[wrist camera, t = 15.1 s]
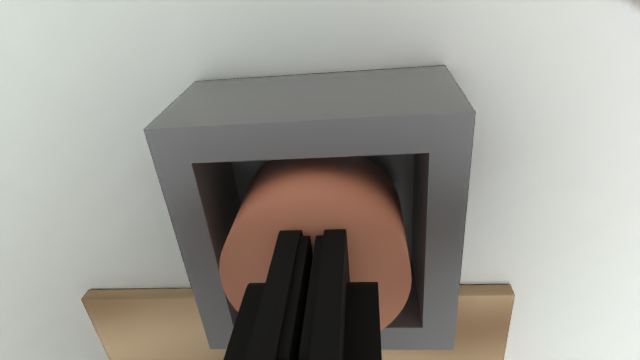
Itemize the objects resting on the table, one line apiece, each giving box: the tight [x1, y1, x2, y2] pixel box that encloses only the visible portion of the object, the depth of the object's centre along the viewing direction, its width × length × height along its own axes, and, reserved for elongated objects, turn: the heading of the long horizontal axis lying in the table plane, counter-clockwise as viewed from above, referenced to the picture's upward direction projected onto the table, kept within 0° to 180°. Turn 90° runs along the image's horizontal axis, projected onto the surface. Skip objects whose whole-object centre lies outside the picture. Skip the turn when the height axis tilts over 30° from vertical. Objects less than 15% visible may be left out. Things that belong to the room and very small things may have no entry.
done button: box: [219, 156, 412, 331], centre depth 13 cm, size 5×5×3 cm
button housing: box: [144, 65, 476, 350], centre depth 14 cm, size 8×8×4 cm
